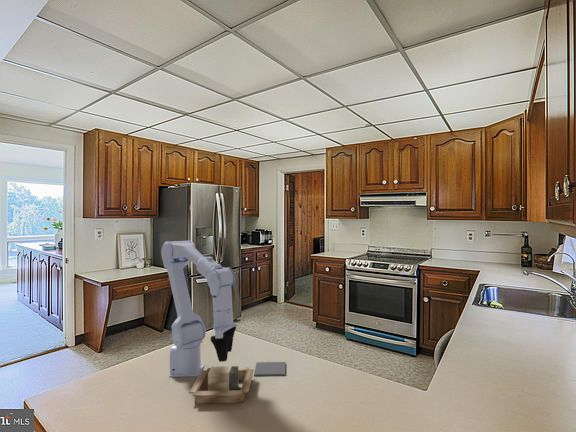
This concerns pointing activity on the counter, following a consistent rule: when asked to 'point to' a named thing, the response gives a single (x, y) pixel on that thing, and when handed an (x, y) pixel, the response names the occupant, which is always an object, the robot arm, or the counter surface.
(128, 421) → the counter surface
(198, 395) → the square wooden frame
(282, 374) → the mat
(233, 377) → the box
